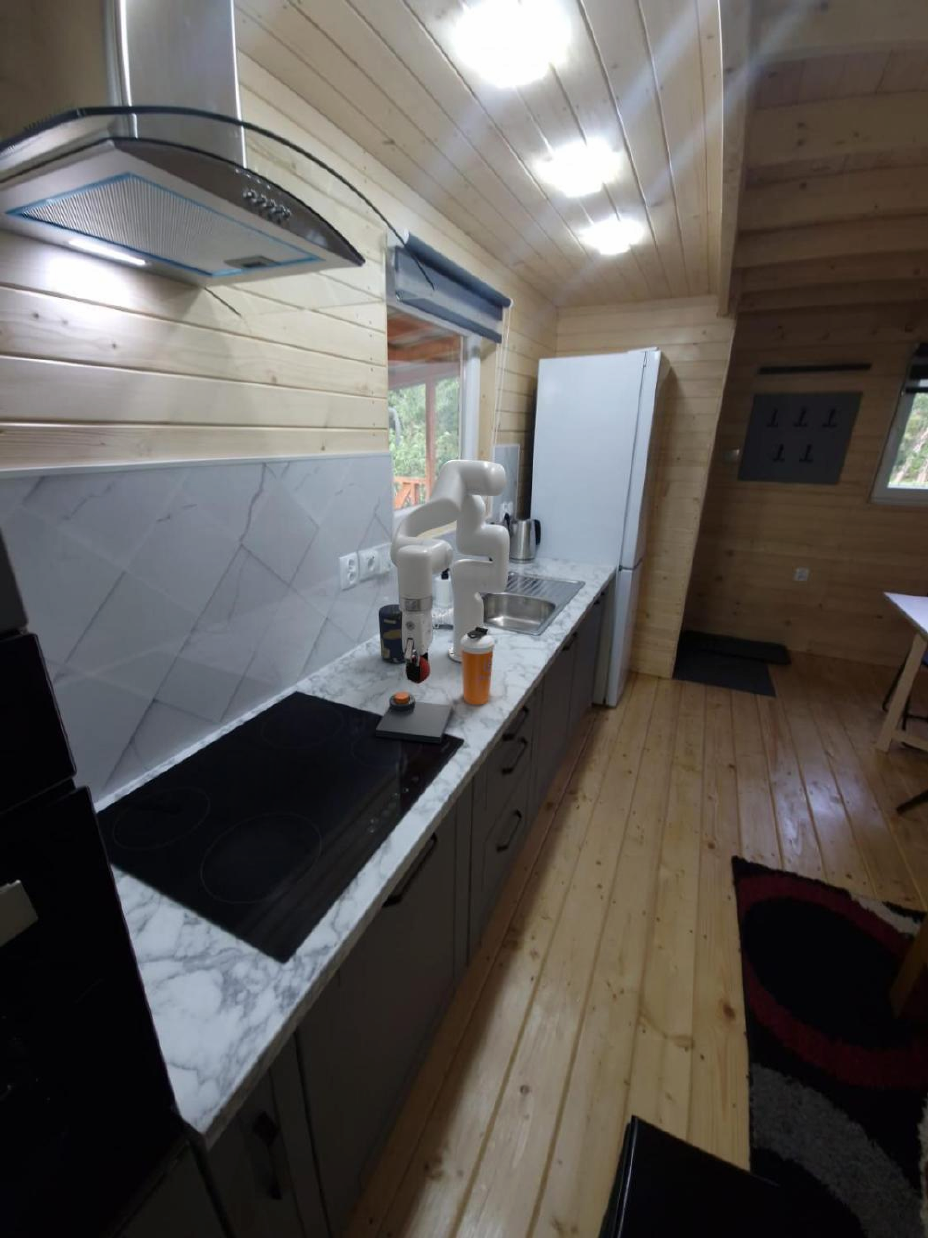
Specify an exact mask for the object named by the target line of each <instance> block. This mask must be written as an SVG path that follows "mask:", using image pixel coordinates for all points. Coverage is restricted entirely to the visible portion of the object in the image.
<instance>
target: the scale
mask: <svg viewBox="0 0 928 1238" xmlns="http://www.w3.org/2000/svg"><path fill="white" fill-rule="evenodd" d="M407 693H408V694H409V701H408V702H407V703H402V704H401V703H396V702H395V694H393V695H390V697H389V699H388V704H389V706H388V708H387V710H386V711H385V713H384V715H383V716H382V718H381V720H380V721H379V723H378V725H377V726H376V727H375V737H381V738H389V739H398V740H406V741H414V742H422V743H423V742H424V743H429V744H437V745H438V744H439V745H440V744H441V743H442V741H443V738H444V736H445V732H446V730H447V728H448V725H449V722H450V720H451V717H452V714H453V705H449V704H441V703H432V702H431V703H430V702H421V701H416V698H415V696H414V695H413V694H411V693H409V692H407Z"/></svg>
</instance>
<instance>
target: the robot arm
mask: <svg viewBox="0 0 928 1238" xmlns="http://www.w3.org/2000/svg"><path fill="white" fill-rule="evenodd" d="M506 483H507V473H506V470H505V468H504V466H503V465H502V464H501V463H497V462H492V461H487V460H474V459H471V460H470V459H469V460H468V459H451V460H448V461H446V462H444V463H443V464H442V465H441V467H440V469H439V472H438V475H437V477H436V479H435V482H434V484H433V486H432V490H431V492H430V494H429V497H428V500H427V501H426V502H424V503H423V504H421V505H419V506H417V507H415V509H414V510H412V511H411V512H410V513H408V514H407V515H406V516H405V517H404V518H403V519H402V520H401V521H400V523H399V524H398V525H397V529H396V531H395V534H394V536H393V538H392V542H391V545H390V551H389V557H390V560H391V563H392V564H393V565H394V566H395V567H396V570H397V591H398V592H397V593H398V604H399V610H400V611H402V612H403V613H402V647H403V652H404V653H405V661H404V662H405V668H406V667H407V676H406V679H407V681H410V680H411V681H410V682H412V681H420V680H421V665H419V659H420V656H421V657H423V658H424V659H426V660H427V661H428V662H429V648H430V646H431V645H432V643H433V640H434V626H433V624H432V617H433V611H432V610H433V609H434V603H433V602H434V600H433V598H434V597H433V576H434V575H436V574H440V573H443V572H445V571H446V570H447V569H448V568H449V567H450V565H451V564H452V565H451V567H450V571H449V575H450V576H449V577H450V584H451V589H452V598H453V599H452V600H453V601H452V603H453V604H452V605H453V607H452V608H453V626H452V628H453V631H452V632H453V633H452V636H453V638H452V639H453V641H452V642H453V644H452V646H451V647H450V648H449V649H448V656H449V658H451V659H452V660H453V661H455V662H459V663H462V649H461V639H462V638H463V636H465V635H466V634H468V633H469V632H471V631H473V630H474V629H475V627H480V628H484V617H485V616H484V614H485V613H484V612H485V611H484V610H485V604H484V601H483V598H482V596H481V594H480V593H485V594H493V595H494V594H497V595H499V594H502V593H504V592H505V591H506V589H507V586H508V581H509V568H510V567H509V565H510V548H511V540H510V537H511V536H510V533H509V530H508V528H506V527H505V526H504V525H501V524H491V523H490V524H489V523H487V522H486V515H487V513H486V511H487V507H486V503H485V502H484V500H483V498H482V496H485V497H486V496H488V497H497V496H499V495H501V494H502V493H503V491H504V489H505V487H506ZM454 522H456V529H455V530H456V531H455V534H456V535H455V541H456V549H457V552H458V553H460V554H461V555H466V556H472V557H482V558H490V559H491V561H490V560H481V559H469V558H464V559H458V560H455V561H454V562H453V560H454V549H453V547H452V545H451V544H450V543H449V542H448V541H447V540H444V539H440V538H430V537H429V538H428V537H420V535H422V534H424V533H425V532H429V531H430V530H434V529H438V528H441V527H444V526H447V525H450V524H452V523H454ZM452 562H453V563H452ZM420 654H421V655H420ZM415 655H416V660H415V659H414V658H413V657H414V656H415Z"/></svg>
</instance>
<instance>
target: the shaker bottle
mask: <svg viewBox="0 0 928 1238" xmlns="http://www.w3.org/2000/svg"><path fill="white" fill-rule="evenodd" d="M461 649H462V662H461V665H462V666H461V667H462V669H461V670H462V695H463V701H465V702H466V703H468V704H470V705H475V706H476V705H484V704H486V703H488V702H489V700H490V693H491V682H492V671H493V670H492V669H493V659H494V658H493V657H494V650H495V639H494V638H493V637H492V635H491V630H490V629H489V628H485V627H483V628H480V627H475V629H474V630H473V631H471V632H469V633H468V634H466V635H465V636H463V638H462V639H461Z"/></svg>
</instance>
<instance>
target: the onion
mask: <svg viewBox="0 0 928 1238" xmlns="http://www.w3.org/2000/svg"><path fill="white" fill-rule="evenodd" d="M420 655H421V654H420ZM412 657H413V658H414V659H415V660H416V655H413V656H412ZM419 665H421V680H420V681H411V680H409V681H410V682H412V683H414V684H417V685H420V684H422V683H423V682H424V681H426V680H427V679H428V677H430V674H431V667H430V663H429V660H428V661H427V660H426V659H424V658H423V657H421V656H420V659H419ZM404 672H405V676H406V677H407V667H406V666H405V671H404Z"/></svg>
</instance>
